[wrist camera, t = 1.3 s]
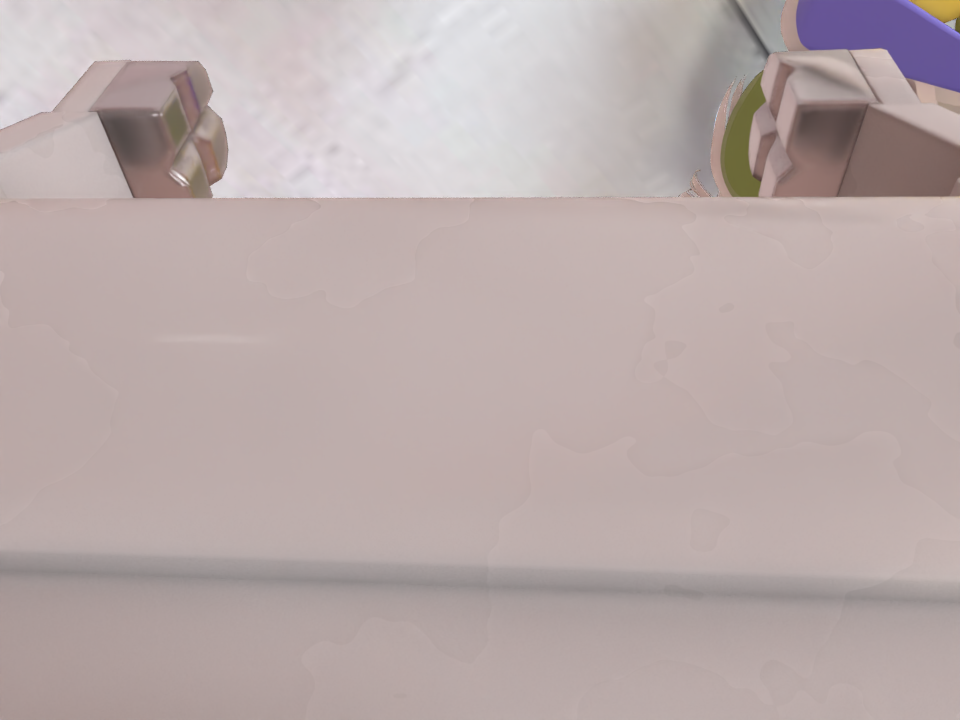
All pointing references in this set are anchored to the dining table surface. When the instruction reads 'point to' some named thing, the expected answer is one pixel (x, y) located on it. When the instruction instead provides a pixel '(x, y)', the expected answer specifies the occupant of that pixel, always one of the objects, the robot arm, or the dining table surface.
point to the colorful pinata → (854, 26)
